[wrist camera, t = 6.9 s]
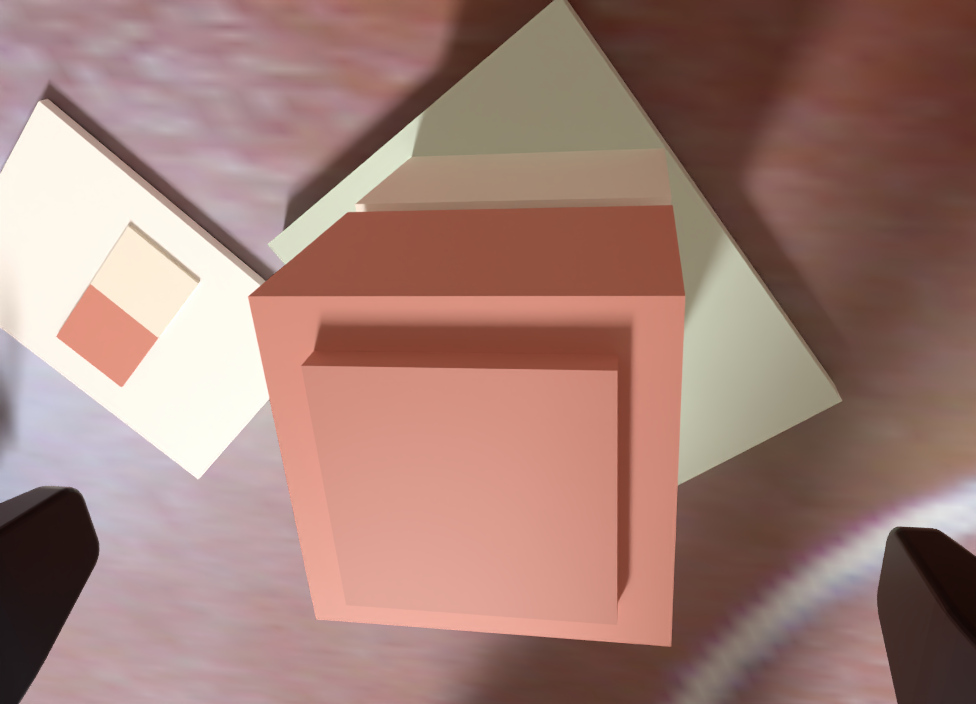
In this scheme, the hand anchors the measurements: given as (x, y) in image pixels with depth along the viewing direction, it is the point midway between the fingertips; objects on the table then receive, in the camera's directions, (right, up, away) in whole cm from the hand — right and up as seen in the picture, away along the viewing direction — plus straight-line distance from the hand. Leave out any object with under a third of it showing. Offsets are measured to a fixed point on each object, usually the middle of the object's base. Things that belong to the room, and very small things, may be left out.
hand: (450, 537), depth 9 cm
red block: (+1, +2, +4) cm, 5 cm away
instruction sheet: (-8, +3, +11) cm, 14 cm away
